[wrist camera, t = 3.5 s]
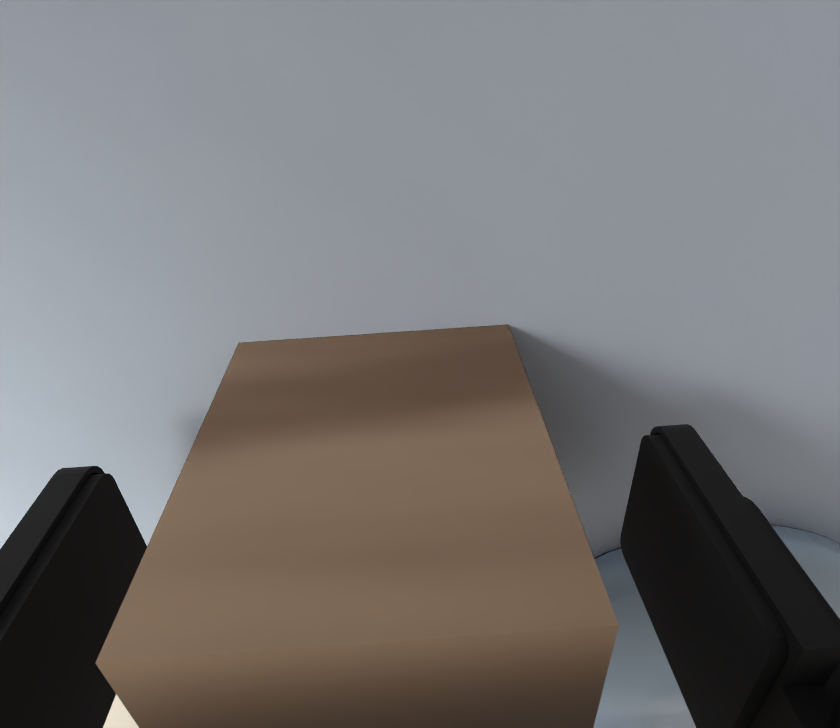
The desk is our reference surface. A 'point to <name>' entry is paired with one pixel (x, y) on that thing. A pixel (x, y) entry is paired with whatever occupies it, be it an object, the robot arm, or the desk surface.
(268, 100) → the desk surface
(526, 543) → the walnut block
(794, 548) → the blue-grey round disc
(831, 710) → the robot arm
